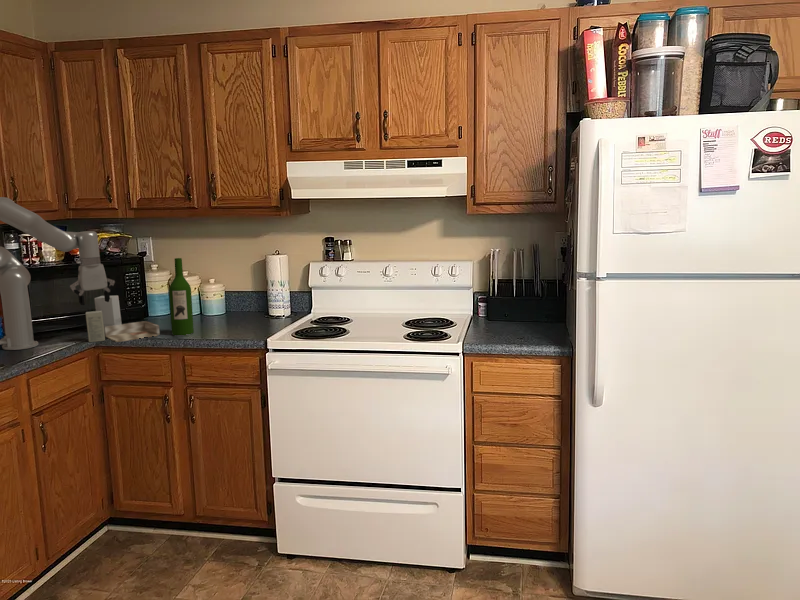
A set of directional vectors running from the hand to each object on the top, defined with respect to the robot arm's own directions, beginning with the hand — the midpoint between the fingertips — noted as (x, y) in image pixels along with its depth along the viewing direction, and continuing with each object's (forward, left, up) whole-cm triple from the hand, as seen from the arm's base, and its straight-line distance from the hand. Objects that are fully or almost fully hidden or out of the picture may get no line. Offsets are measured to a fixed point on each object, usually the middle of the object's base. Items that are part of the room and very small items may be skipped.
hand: (95, 303), depth 279 cm
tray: (+13, -2, -16) cm, 21 cm away
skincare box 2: (+10, +17, -16) cm, 26 cm away
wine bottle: (+31, -12, -16) cm, 37 cm away
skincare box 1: (-1, 0, -16) cm, 16 cm away
